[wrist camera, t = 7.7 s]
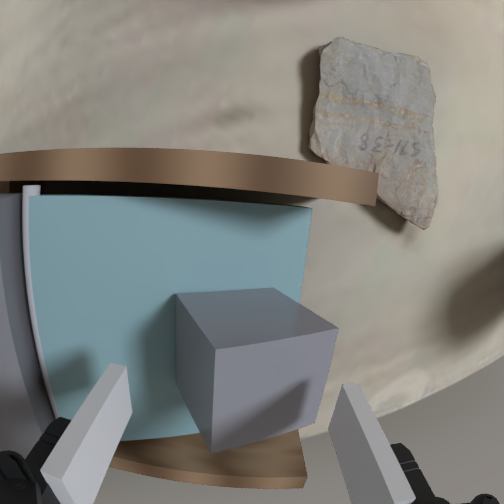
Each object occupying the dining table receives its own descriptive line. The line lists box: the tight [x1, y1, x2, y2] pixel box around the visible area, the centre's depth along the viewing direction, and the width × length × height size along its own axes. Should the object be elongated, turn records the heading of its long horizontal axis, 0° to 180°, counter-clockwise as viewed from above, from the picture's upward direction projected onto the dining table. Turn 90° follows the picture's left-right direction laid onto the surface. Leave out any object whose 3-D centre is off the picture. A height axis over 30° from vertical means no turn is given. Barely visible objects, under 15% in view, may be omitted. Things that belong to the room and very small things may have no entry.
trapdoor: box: [0, 185, 312, 459], centre depth 16 cm, size 23×17×5 cm
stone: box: [308, 37, 438, 230], centre depth 21 cm, size 15×11×3 cm
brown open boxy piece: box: [0, 148, 379, 489], centre depth 19 cm, size 26×20×10 cm
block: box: [175, 287, 339, 453], centre depth 16 cm, size 6×6×6 cm
